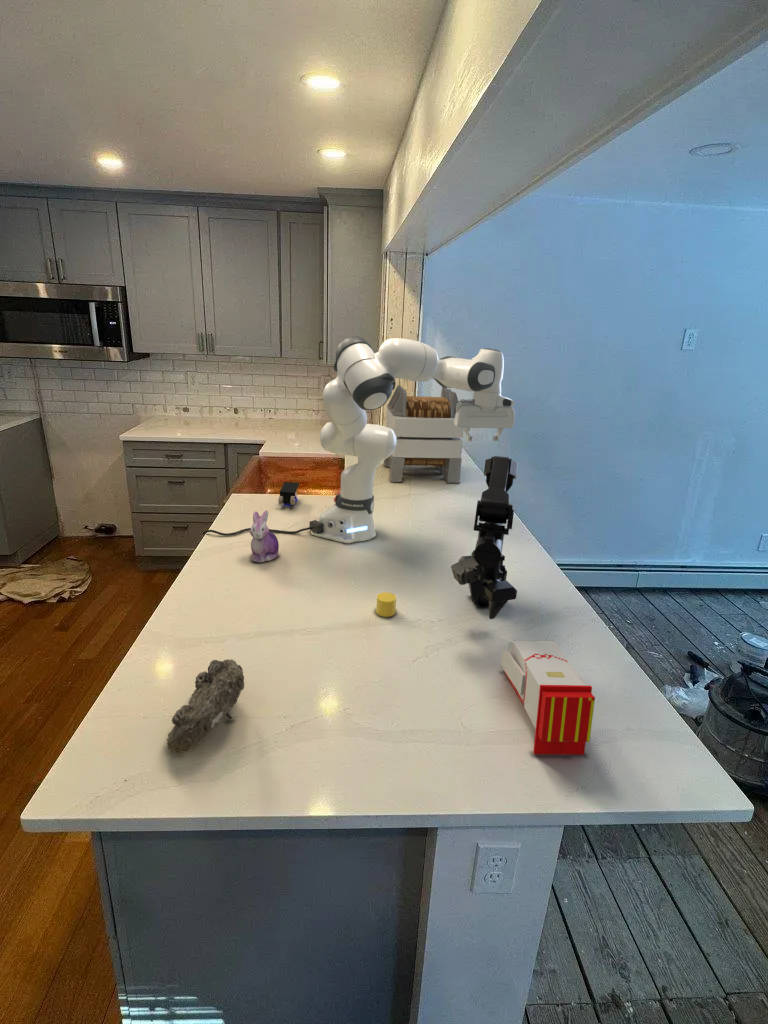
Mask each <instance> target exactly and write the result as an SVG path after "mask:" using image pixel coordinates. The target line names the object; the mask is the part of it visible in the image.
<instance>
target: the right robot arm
mask: <svg viewBox="0 0 768 1024" xmlns="http://www.w3.org/2000/svg"><path fill="white" fill-rule="evenodd" d="M518 467H519V462H517V461H514V460H513V458H510V457H509V456H503V455H502V456H501V455H493V456H491V457H490V458H487V459H485V461H484V468H483V476H484V477H485V483H486V486H487V489H485V490H483V491H482V492H481V496H480V500H479V499H478V500H477V502H476V508H475V509H476V510H475V515H474V524H473V531H475V532H478V535H477V540H476V543H475V548H474V549H473V550H472V552H471V555H463V556H461V557H460V558H459V559H458V562H456V563H453V564H451V566H450V569H451V572H452V576H453V578H454V580H455V581H456V582H457V583H458V584H459V585H461V586H465V585H467V584H468V588H469V593H470V596H469V597H470V599H471V600H472V601H473V603H474V604H475V605H476V606H477V607H478V608H480V609H481V608H488V618H489V620H494V619H495V618H496V617H497V616H498V614H499V613H500V611H501V610H502V609H503V607H504V606H505V605H506V604H507V603H508V602H509V601H513V600H516V599H517V597H518V596H517V595H518V589H517V588H515V587H514V585H512V583H510V582H509V581H508V580H507V577H508V576H507V575H508V570H507V568H506V565H505V564H504V561H505V560H506V556H505V554H503V546H504V537H505V535H506V536H507V535H508V536H509V533H510V532H509V531H510V530H513V524H514V523H513V522H514V514H515V509H514V506H513V504H512V503H510V499H511V495H510V493H508V492H509V490H510V489H511V488H512V487H513V484H514V480H517V476H518Z"/></svg>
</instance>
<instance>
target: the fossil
mask: <svg viewBox="0 0 768 1024" xmlns="http://www.w3.org/2000/svg"><path fill="white" fill-rule="evenodd" d="M243 670H244V669H243V667H242V665H240V664H237V662H236V661H235V660H234V659H232V658H231V659H227V658H226V659H224V660H223V661H222V660H217V659H212V660H211V661H210V663H209V665H208V666H207V671H201V672H199V673H198V674H197V675H196V676H195V680H194V684H195V685H194V687H195V689H194V690H193V693H192V694H191V697H190V698H189V700H188V704H184V705H182V706H181V707H180V709H177V710H176V711H175V713H174V715H173V716H172V718H171V723H172V724H173V727H172V730H171V731H170V732H168V734H167V738H166V741H167V742H166V745H167V749H168V750H169V751H173V752H174V753H176V754H178V753H182V752H188V751H189V752H192V751H193V750H195V748H196V747H197V746H199V744H200V743H201V742H203V741H204V740H205V739H206V738H207V737H208V736H209V735H210V734H211V733H212V732H214V730H215V729H217V727H218V726H219V724H220V722H221V721H222V720H223V719H224V718H225V716H226V717H227V719H229V720H233V717H232V715H230V714H229V710H230V709H231V708H234V706H235V704H236V703H237V702H238V699H239V697H240V695H241V693H242V691H243V690H245V689H244V688H245V675H244V671H243Z"/></svg>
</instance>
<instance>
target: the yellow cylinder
mask: <svg viewBox="0 0 768 1024" xmlns="http://www.w3.org/2000/svg"><path fill="white" fill-rule="evenodd" d="M396 607H397V596H396V594H394V593H393V592H387V591H386V592H385V591H384V592H380V593H378V594H377V595H376V606H375V610H376V611H375V612H376V614H377V616H380V617H384V618H389V617H392V616H394V615H395V614H396V610H397V608H396Z"/></svg>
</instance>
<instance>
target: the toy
mask: <svg viewBox="0 0 768 1024" xmlns="http://www.w3.org/2000/svg"><path fill="white" fill-rule="evenodd" d="M500 666H501V668H502V669H503V672H504V674H505V676H506V678H507V679H508V681H509V683H510V685H511V686H512V688H513V690H514V691H515V693H516V695H517V697H518V698H519V701H520V702H521V703H522V705H523V707H524V710H525V712H526V714H527V716H528V718H529V720H530V722H531V724H532V725H533V728H534V730H535V731H534V743H533V755H566V756H567V755H569V756H570V755H571V756H572V755H573V756H584V755H585V752H586V751H585V750H586V743H590V741H591V734H592V732H591V731H592V725H593V716H594V710H595V709H594V708H595V699H596V697H595V696H594V694H593V693H592V692H593V687H592V685H587V684H585V681H583V679H581V677H580V676H579V674H578V673H577V672H576V670H575V669H574V667H573V666H572V664H570V662H569V660H568V659H567V658H566V656H564V654H563V653H562V651H561V650H560V648H559V646H557V645H556V643H555V642H554V641H545V640H544V641H543V640H542V641H540V640H537V641H536V640H512V641H509V642H507V647H506V646H503V647H502V653H501V660H500Z"/></svg>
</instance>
